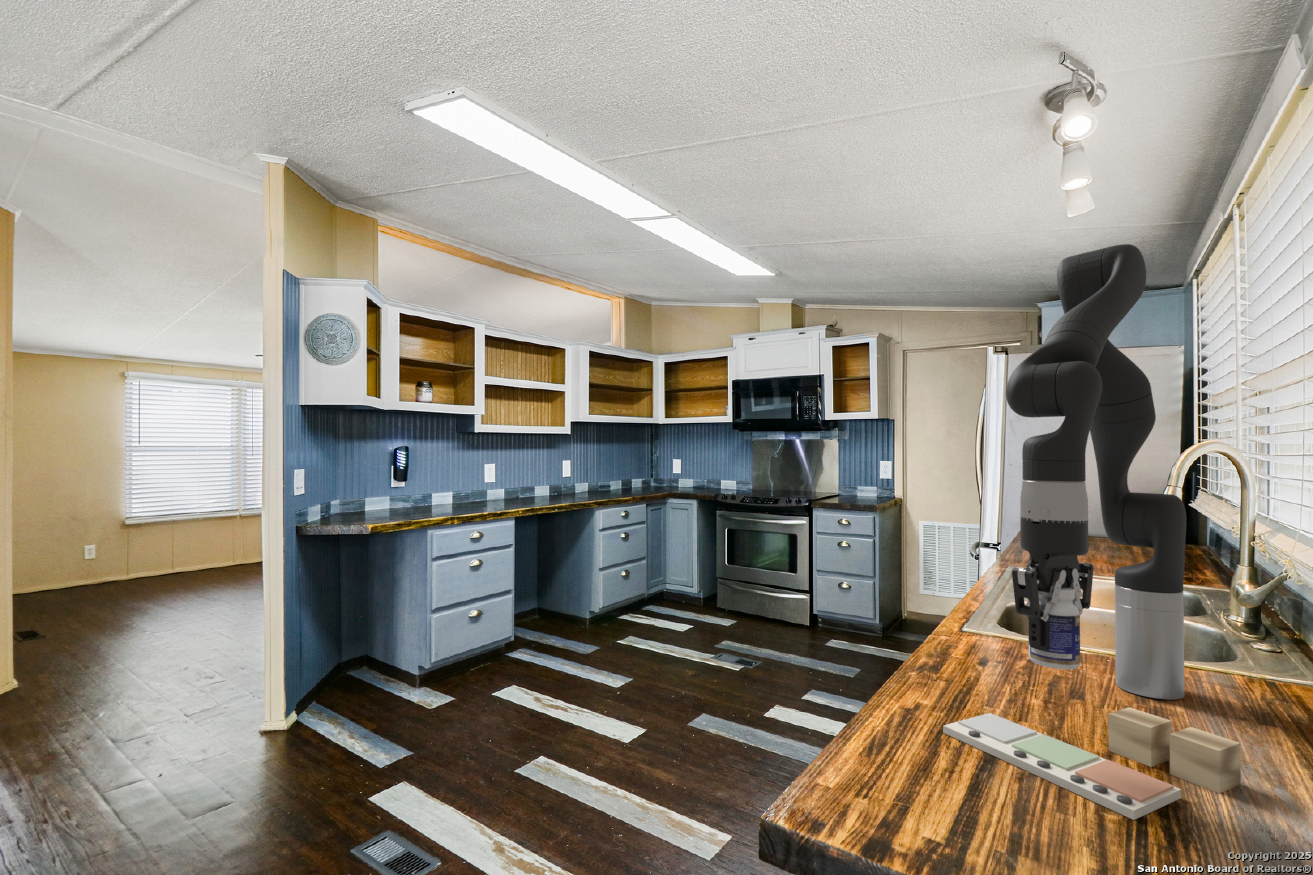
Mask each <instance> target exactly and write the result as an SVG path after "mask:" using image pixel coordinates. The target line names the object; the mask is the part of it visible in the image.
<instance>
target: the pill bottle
mask: <svg viewBox="0 0 1313 875" xmlns="http://www.w3.org/2000/svg"><path fill="white" fill-rule="evenodd" d="M1038 594H1041V595H1048V594H1049V593H1046V592H1041V591H1038ZM1074 598H1075V589H1074V588H1062V589H1060V593H1059V597H1058V601H1057V603H1056V604H1055V605H1053V606H1052V607H1051V611H1050V615H1049V619H1048V621H1049V649H1048V650H1045V651H1042V650H1038V649H1034V648H1032V647H1030V645H1029V638H1028V641H1027V642H1028V647H1027V648H1028V652H1027V653H1028V658H1029V660H1030V661H1031V662H1033V664H1036V665H1038V666H1041V667H1045V668H1049V669H1058V670H1076V669H1077V668H1079V667H1080V665H1081V615H1080V612H1079V609H1078V608H1077V607H1076V606H1075V605H1074V604H1073V600H1074ZM1042 604H1043V602H1039V605H1040V610H1041V608H1042Z"/></svg>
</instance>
